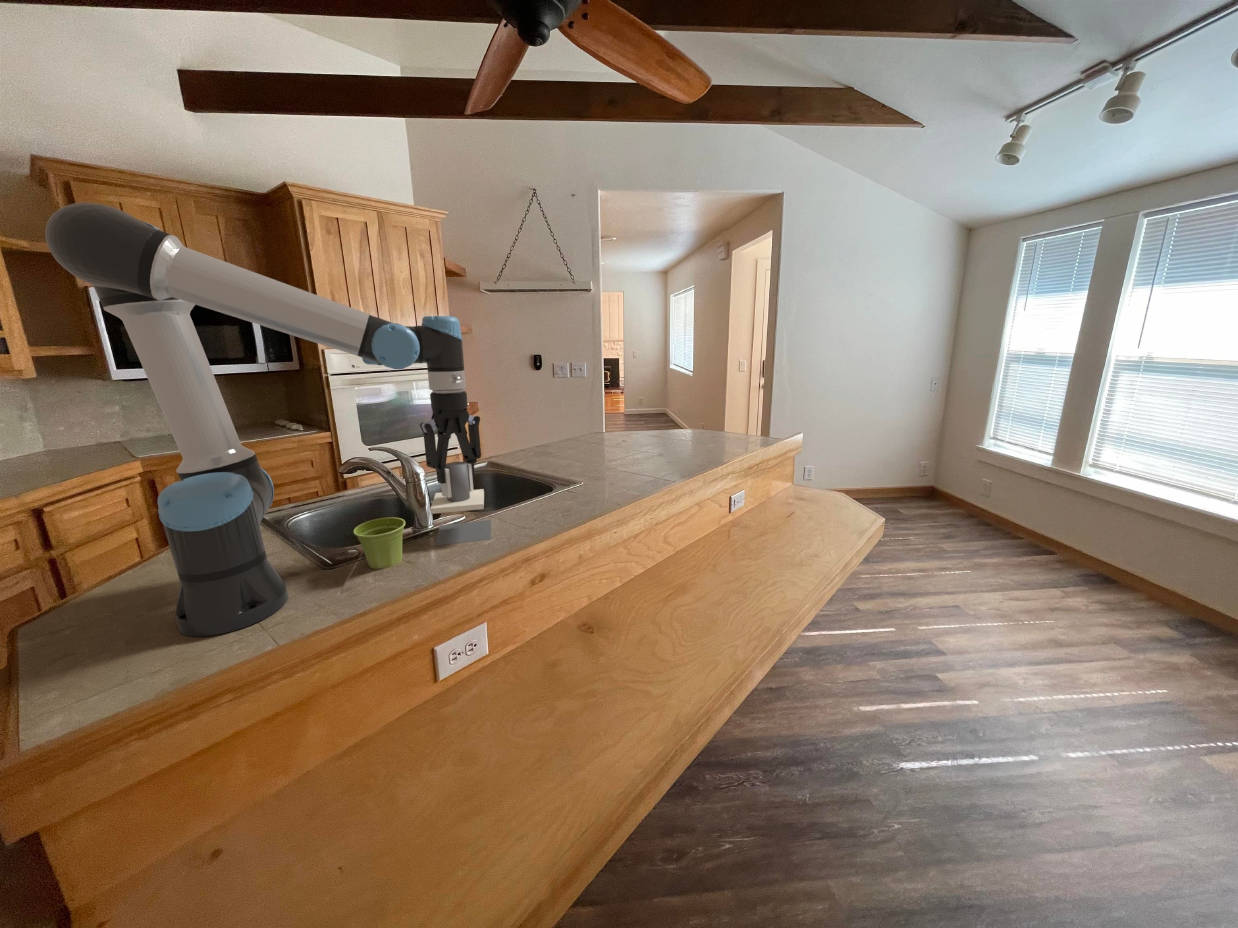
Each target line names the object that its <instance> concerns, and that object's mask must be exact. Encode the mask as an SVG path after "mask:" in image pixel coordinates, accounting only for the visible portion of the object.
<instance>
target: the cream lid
mask: <svg viewBox="0 0 1238 928" xmlns="http://www.w3.org/2000/svg"><path fill="white" fill-rule="evenodd" d="M465 462H466V461H452V462H446V467H445V468H447V469H449V474H450V484H451V494H452V497H450V498H448V497H445V496H442V492H435V493H434V496H433V497H434V498H433V500H432V503H431V505H430V514H431V515H432V514H433V515H434V514H445V513H454V512H455V513H456V512H464V511H475V510H476V511H477V510H484V509H485V508H484V506H485V491H484V490H485V489H484V488H480V489H474V491H471V492H470V491H469V481H468V470H467V463H465Z"/></svg>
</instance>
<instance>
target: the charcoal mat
mask: <svg viewBox="0 0 1238 928" xmlns="http://www.w3.org/2000/svg"><path fill="white" fill-rule="evenodd" d="M491 526H492V520H491V519H485V520H478V521H469V522H468V521H467V522H458V523H450V524H449V523H447V524H442V525H441V524H440V525H439V526H438V530H437V531H438V532H437V535H436V538H435V542H434V547H438V546H446V545H452V544H453V545H454V544H455V545H456V544H461V543H463V544H464V543H471V542H472V543H473V542H479V541H488V540H492V527H491Z"/></svg>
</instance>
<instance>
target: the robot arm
mask: <svg viewBox="0 0 1238 928" xmlns="http://www.w3.org/2000/svg"><path fill="white" fill-rule="evenodd" d="M44 229H45V236H44V237H45V241H46V245H47V248H48V249H49V251H50V253H51V255H52V256H53V258H54V259H55V261H56V262H57V263H58V264H60V266H61V267H62V268H63V269H64V270H65V271H67V272H69V273H70V274H71V275H73V276H74V277H75V278H77V279H79V280H81V281H83V282H84V283H87V284H90V285H92V286H93V289H94V292H95V293H96V295H97V298H98V300H99V302H100V304H101V306H102V308H103V310H104V311H105V312H107V313H109V314H111V315H113V316H115V317H117V318H118V319H120V320H121V321H122V324H123V325H124V328H125V330H126V332H127V334H128V338H129V339H130V341H131V344H132V346H133V348H134V351H135V353H136V355H137V357H138V359H139V362H140V363H141V367H142V369H143V372H144V374H145V375H146V378H147V380H148V381H149V382H148V383H149V384H150V386H151V389H152V391H153V393H154V396H155V398H156V401H157V403H158V405H159V408H160V409H161V412H162V414H163V417H164V418H165V421H166V423H167V425H168V429H169V430H170V432H171V435H172V437H173V439H174V441H175V443H176V446H177V449H178V451H179V453H180V456H181V457H182V461H180V463H179V465H178V467H177V468H176V470H175V471H176V473H177V476H178V479H179V480H180V481H176V482H173V483H171V484H169V485H168V486H166V487H165V488H164V489H162V491H160V493H159V495H158V496H157V506H158V509H157V511H158V512H157V513H158V518H159V520H160V522H161V523H162V525H163V526H162V527H163V529H164V530H163V531H164V533H165V536H166V539H167V543H168V546H169V549H170V550H169V551H170V552H171V556H172V559H173V563H174V566H175V569H176V572H177V576H178V579H179V589H178V590H179V591H178V596H177V602H176V609H175V615H174V616H175V621H176V625H177V628H178V631H179V633H181V634H182V635H185V636H189V637H211V636H217V635H221V634H226V633H230V632H233V631H234V632H235V631H238V630H241V629H243V628H246V627H248V626H249V627H250V626H251V625H254V624H256V623H258V622H260V621H263V620H264V619H267V618H268V617H270V616H271V615H274V614H275V613H276V612H278V611H279V610H280V609H282V607H283V606H284V605H286V603H287V602H288V600H289V592H288V590H287V589H288V588H287V584H286V583H285V581H284V580H283V578H282V577H281V576H280V574H279V573H278V572H277V570H276V569H275V568H274V567H273V565H272V564H271V563H270V561H269V559H268V556H267V552H266V549H265V548H266V547H265V545H264V540H263V535H262V530H261V527H260V524H261V522H262V520H263V519H264V517H265V515H266V514H267V513H268V511H269V509H270V508H271V506H272V504H273V501H274V497H275V495H274V493H275V490H274V489H275V487H274V483H273V480H272V478H271V476H270V475H269V474H268V473H267V472H266V470H264V469H263V468H262V467H261V465H260V462H259V460H258V457H257V455H256V453H255V451H254V450H252V449H250V448H248V447H245V446H244V445H242V443H241V441H240V439H239V436H238V432H237V431H236V429H235V425H234V423H233V421H232V420H233V419H232V418H231V416H230V413H229V411H228V408H227V405H226V403H225V401H224V398H223V396H222V393H221V390H220V388H219V384H218V383H217V381H216V377H215V374H214V372H213V370H212V367H211V365H210V362H209V360H208V358H207V355H206V353H205V350H204V347H203V345H202V342H201V340H200V337H199V335H198V333H197V329H196V327H195V325H194V322H193V320H192V317H191V315H190V314H191V311H192V310H193V309H194V307H195V306H199V307H202V308H204V309H205V308H206V309H209V310H213V311H215V312H219V313H221V314H224V315H227V316H231V317H233V318H234V317H235V318H237V319H240V320H244V321H247V322H250V323H252V324H257V325H260V326H261V327H265V328H269V329H271V330H274V331H278V332H282V333H284V334H287V335H291V336H294V337H297V338H300V339H303V340H306V341H310V342H312V343H316V344H320V345H323V346H325V347H328V348H331V349H335V350H337V351H341V352H344V353H347V354H350V355H353V356H357V357H359V358H361V359H362V362H363V363H364V364H366V365H373V366H384V367H386V368H390V369H393V370H403V369H406V368H409V367H410V366H412V365H413V364H426V366H427V367H426V370H427V378H428V379H427V381H428V389H429V390H431V391H432V392H430V394H429V397H430V398H429V399H430V406H431V411H432V415H431V419H430V420H428V421H426V422H421V423H419V428H420V429H421V431H422V434H423V441H424V453H425V460H426V463H425V464H426V467H428V468H431V469H434V470H435V472H436V480H437V483H438V484H440V486H441V487H440V488H441V493H442V496H445V497H448V498H450V497H452V494H451V484H450V474H449V469H447V468H445V467H446V464H447V457H448V452H449V451H448V450H449V445H450V444H449V443H450V442H449V441H450V439H451V438H452V434H454V435H455V436H456V439H457V442H458V445H459V448H460V451H461V454H462V457H463V460H464V462H465V463H467V470H468V481H469V491H470V492H471V491H474V490H475V489H474V482H473V481H474V480H473V479H474V478H473V477H474V476H475V474H476V472H475V464H476V463H477V462H478V461H477V460H478V459H481V457H482V449H481V447H482V446H481V439H480V438H481V435H480V429H479V428H480V427H479V426H480V421H481V417H480V416H479V415H472V414H470V413H469V412H468V405H469V404H468V396H467V395H468V393H467V391H466V390H465V389H466V388H467V385H466V374H465V363H464V362H465V359H464V348H463V347H464V345H463V340H464V339H463V337H462V330H461V323H460V322H461V321H459V319H458V318H457V317H456V316H452V315H451V316H450V315H426V316H423V317H422V318H421V319H422V320H421V325H415V326H413V325H412V326H408V325H406V326H405V325H403V324H401V323H394V322H392V321H388V320H386V319H383V318H380V317H377V316H375V315H371V314H369V313H366V312H364V311H361V310H360V309H359V310H358V309H356V308H354V307H350V306H348V305H345V304H342V303H339V302H336V301H334V300H331V299H328V298H326V297H323V296H320V295H318V294H316V293H315V294H314V293H312V292H309V291H307V290H304V289H301V288H299V287H295V286H293V285H290V284H287V283H284V282H282V281H279V280H277V279H274V278H271V277H268V276H265V275H263V274H260V273H257V272H255V271H253V270H252V271H251V270H249V269H246V268H244V267H241V266H238V265H236V264H232V263H230V262H227V261H224V260H222V259H219V258H216V257H213V256H211V255H208V254H205V253H203V252H199V251H197V250H194V249H191V248H189V247H186V246H184V244H183V243H182V242H181V241H180V239H179V238H178V237H177V236H176V235H173V234H172V233H168V232H165V231H163V230H161V229H160V228H158V227H156V226H154V225H153V224H151V223H148V222H145V221H143V220H141V219H138V218H136V217H135V216H132V215H131V214H129V213H128V212H125V211H124V210H122V209H119V208H116V207H113V206H110V205H106V204H103V203H96V202H77V203H71V204H68V205H66V206H65V205H63V207H61V208H58V209H57V210H56V211H54V212H53V213H52V215H51V216H50V217H49V219H48V220H47V222H46V226H45V228H44ZM466 424H467V426H466ZM435 427H436V428H437V432H436V433H437V434H435V430H436V429H435ZM466 427H467V428H466ZM467 430H468V431H467ZM435 435H436V436H435ZM436 437H437V444H436Z"/></svg>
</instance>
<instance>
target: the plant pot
mask: <svg viewBox="0 0 1238 928" xmlns="http://www.w3.org/2000/svg"><path fill="white" fill-rule="evenodd" d="M405 526H406V521H405V519H403V518H400V517H393V516H392V517H381V518H375V519H371V520H368V521H365V522H363V523H360V524H359V525H357V526H356V527H355V528H354V529H353V535H354V536H355V537H356V538H357V540H358V541H359V542H360V546H361V547H362V550H363V553H364V557H365V558H366V562H367V564H368V566H369V568H371V569H375V570H380V569H387V568H391V567H394V566H396V565H397V564H399V563H400V562H402V560H403V535H404V534H403V533H404V530H405V528H404V527H405Z"/></svg>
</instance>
